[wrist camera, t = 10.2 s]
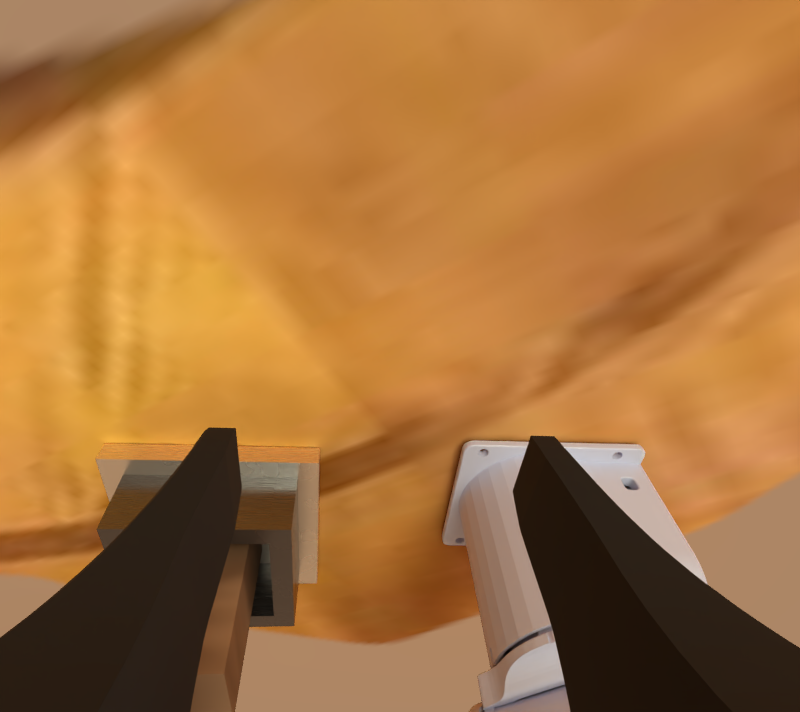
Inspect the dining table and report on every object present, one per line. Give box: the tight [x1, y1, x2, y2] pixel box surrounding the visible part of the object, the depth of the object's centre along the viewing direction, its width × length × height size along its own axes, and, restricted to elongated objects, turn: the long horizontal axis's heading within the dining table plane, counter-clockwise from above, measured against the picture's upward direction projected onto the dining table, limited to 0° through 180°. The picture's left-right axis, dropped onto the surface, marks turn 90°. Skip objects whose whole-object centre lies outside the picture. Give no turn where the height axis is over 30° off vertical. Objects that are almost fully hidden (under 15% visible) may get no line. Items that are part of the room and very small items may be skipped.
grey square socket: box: [96, 443, 320, 627], centre depth 26 cm, size 10×10×4 cm
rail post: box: [190, 544, 262, 712], centre depth 23 cm, size 4×4×8 cm
